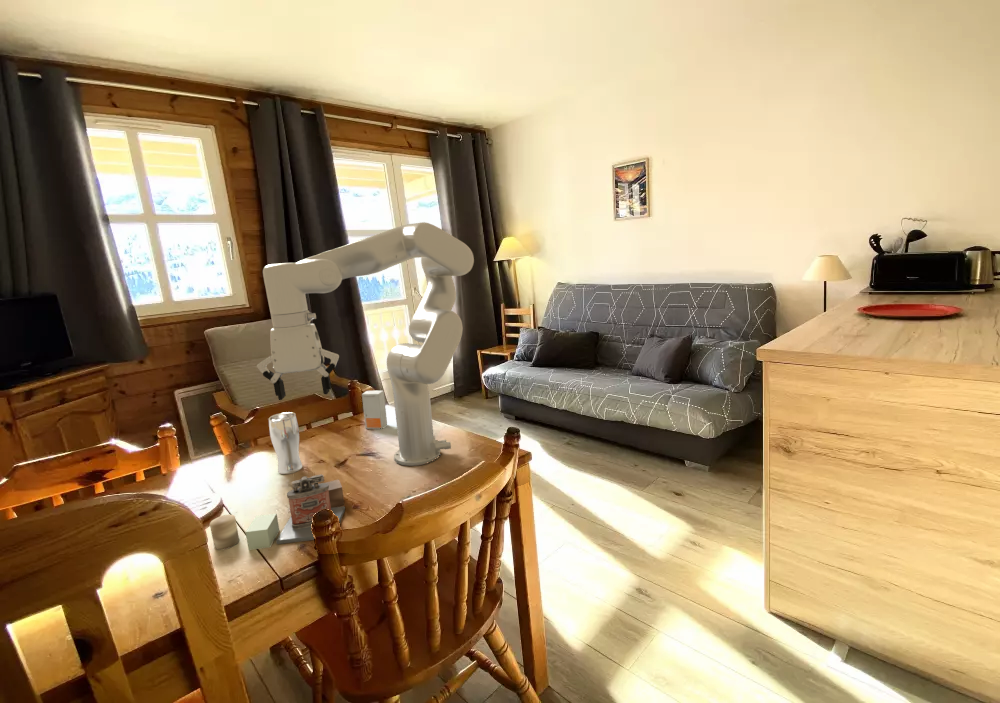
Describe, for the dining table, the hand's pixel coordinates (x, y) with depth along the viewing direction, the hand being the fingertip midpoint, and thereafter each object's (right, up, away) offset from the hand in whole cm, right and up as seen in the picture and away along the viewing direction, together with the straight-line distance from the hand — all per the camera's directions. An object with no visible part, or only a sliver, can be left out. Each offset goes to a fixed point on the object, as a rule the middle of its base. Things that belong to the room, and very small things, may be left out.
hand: (304, 395), depth 109 cm
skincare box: (+4, -15, +50) cm, 53 cm away
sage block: (-1, -26, -12) cm, 29 cm away
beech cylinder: (-11, -28, -12) cm, 33 cm away
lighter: (+5, -26, -8) cm, 28 cm away
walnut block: (+6, -25, +1) cm, 26 cm away
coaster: (+5, -27, -8) cm, 28 cm away
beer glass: (-12, -22, +21) cm, 33 cm away
